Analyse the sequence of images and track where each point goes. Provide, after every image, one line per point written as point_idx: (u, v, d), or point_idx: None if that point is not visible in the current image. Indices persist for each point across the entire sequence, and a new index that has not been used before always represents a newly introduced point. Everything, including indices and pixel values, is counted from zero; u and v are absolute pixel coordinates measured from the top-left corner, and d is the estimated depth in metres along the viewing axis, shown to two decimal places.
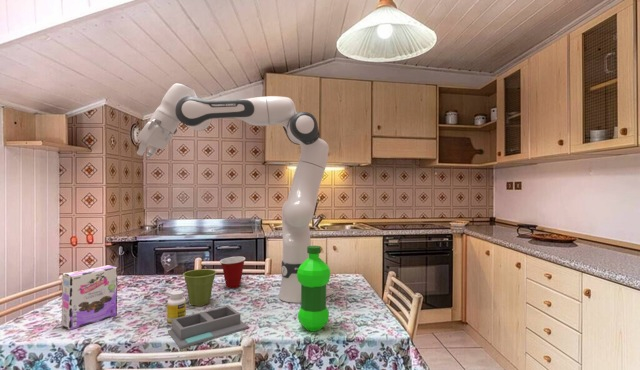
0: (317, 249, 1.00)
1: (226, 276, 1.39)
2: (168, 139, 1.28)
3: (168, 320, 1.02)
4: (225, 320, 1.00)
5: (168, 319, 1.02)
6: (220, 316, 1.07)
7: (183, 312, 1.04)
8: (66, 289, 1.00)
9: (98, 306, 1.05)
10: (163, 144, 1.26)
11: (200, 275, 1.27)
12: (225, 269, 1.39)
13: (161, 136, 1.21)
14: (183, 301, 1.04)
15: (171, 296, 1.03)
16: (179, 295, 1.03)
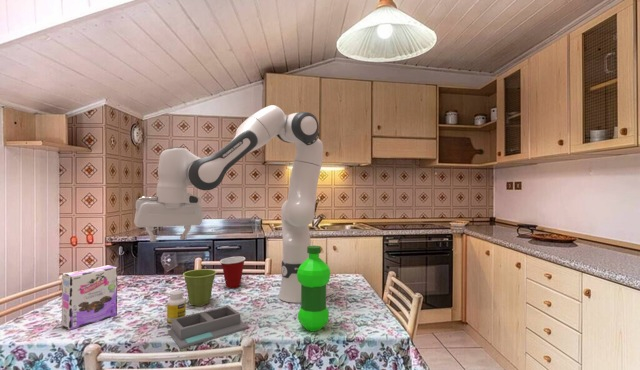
0: (317, 249, 1.00)
1: (226, 276, 1.39)
2: (197, 211, 1.10)
3: (168, 320, 1.02)
4: (225, 320, 1.00)
5: (168, 319, 1.02)
6: (220, 316, 1.07)
7: (183, 312, 1.04)
8: (66, 289, 1.00)
9: (98, 306, 1.05)
10: (192, 219, 1.09)
11: (200, 275, 1.27)
12: (225, 269, 1.39)
13: (174, 211, 1.05)
14: (183, 301, 1.04)
15: (171, 296, 1.03)
16: (179, 295, 1.03)
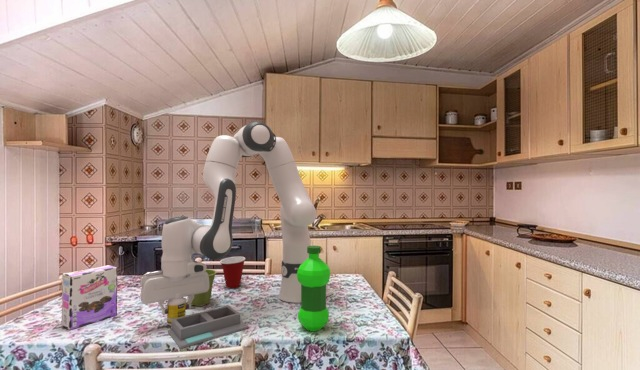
0: (317, 249, 1.00)
1: (226, 276, 1.39)
2: (203, 278, 1.08)
3: (168, 320, 1.02)
4: (225, 320, 1.00)
5: (168, 319, 1.02)
6: (220, 316, 1.07)
7: (183, 312, 1.04)
8: (66, 289, 1.00)
9: (98, 306, 1.05)
10: (199, 287, 1.07)
11: None
12: (225, 269, 1.39)
13: (180, 283, 1.04)
14: (183, 301, 1.04)
15: None
16: (179, 295, 1.03)
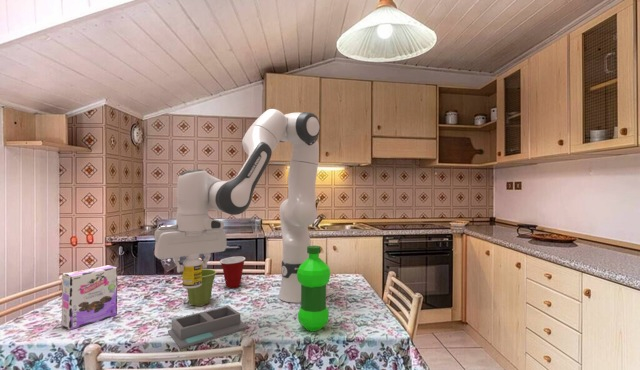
0: (317, 249, 1.00)
1: (226, 276, 1.39)
2: (221, 236, 1.01)
3: (184, 282, 0.96)
4: (225, 320, 1.00)
5: (184, 281, 0.96)
6: (220, 316, 1.07)
7: (199, 274, 0.97)
8: (66, 289, 1.00)
9: (98, 306, 1.05)
10: (216, 245, 1.01)
11: None
12: (225, 269, 1.39)
13: (196, 239, 0.97)
14: (199, 263, 0.97)
15: (186, 257, 0.96)
16: (195, 256, 0.97)
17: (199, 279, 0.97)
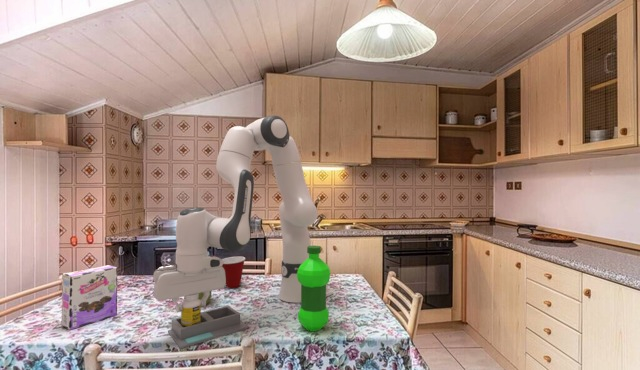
0: (317, 249, 1.00)
1: (226, 276, 1.39)
2: (220, 274, 1.01)
3: (182, 323, 0.96)
4: (225, 320, 1.00)
5: (182, 322, 0.96)
6: (220, 316, 1.07)
7: (198, 315, 0.97)
8: (66, 289, 1.00)
9: (98, 306, 1.05)
10: (215, 283, 1.01)
11: None
12: (225, 269, 1.39)
13: (195, 278, 0.97)
14: (198, 303, 0.97)
15: (185, 298, 0.96)
16: (194, 297, 0.97)
17: (198, 320, 0.97)
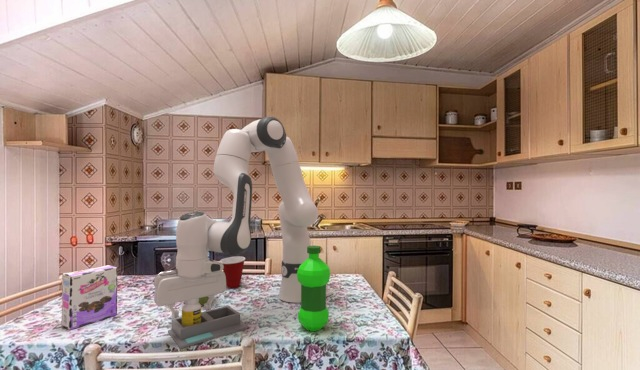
0: (317, 249, 1.00)
1: (226, 276, 1.39)
2: (220, 278, 1.01)
3: None
4: (225, 320, 1.00)
5: (183, 326, 0.96)
6: (220, 316, 1.07)
7: (199, 319, 0.97)
8: (66, 289, 1.00)
9: (98, 306, 1.05)
10: (215, 287, 1.01)
11: None
12: (225, 269, 1.39)
13: (195, 283, 0.97)
14: (199, 307, 0.97)
15: (186, 301, 0.96)
16: (195, 301, 0.97)
17: (198, 323, 0.97)
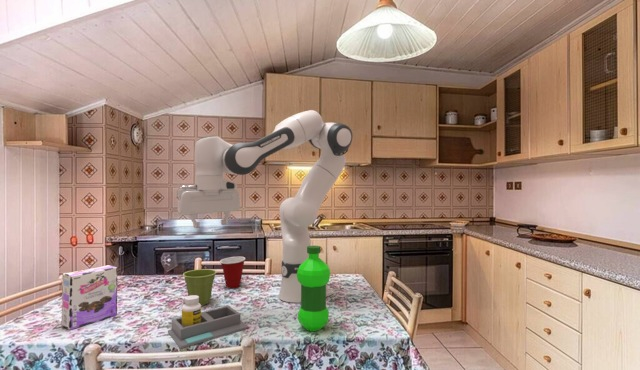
0: (317, 249, 1.00)
1: (226, 276, 1.39)
2: (235, 196, 1.13)
3: None
4: (225, 320, 1.00)
5: (183, 326, 0.96)
6: (220, 316, 1.07)
7: (199, 319, 0.97)
8: (66, 289, 1.00)
9: (98, 306, 1.05)
10: (231, 204, 1.12)
11: (200, 275, 1.27)
12: (225, 269, 1.39)
13: (213, 198, 1.09)
14: (199, 307, 0.97)
15: (186, 302, 0.96)
16: (195, 301, 0.97)
17: (198, 323, 0.97)
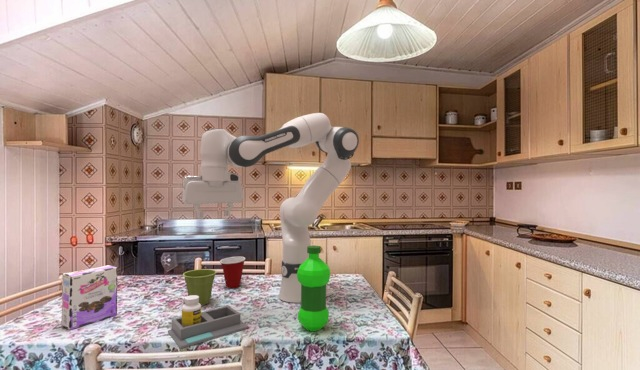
0: (317, 249, 1.00)
1: (226, 276, 1.39)
2: (238, 189, 1.16)
3: None
4: (225, 320, 1.00)
5: (183, 326, 0.96)
6: (220, 316, 1.07)
7: (199, 319, 0.97)
8: (66, 289, 1.00)
9: (98, 306, 1.05)
10: (234, 196, 1.15)
11: (200, 275, 1.27)
12: (225, 269, 1.39)
13: (217, 189, 1.11)
14: (199, 307, 0.97)
15: (186, 302, 0.96)
16: (195, 301, 0.97)
17: (198, 323, 0.97)
